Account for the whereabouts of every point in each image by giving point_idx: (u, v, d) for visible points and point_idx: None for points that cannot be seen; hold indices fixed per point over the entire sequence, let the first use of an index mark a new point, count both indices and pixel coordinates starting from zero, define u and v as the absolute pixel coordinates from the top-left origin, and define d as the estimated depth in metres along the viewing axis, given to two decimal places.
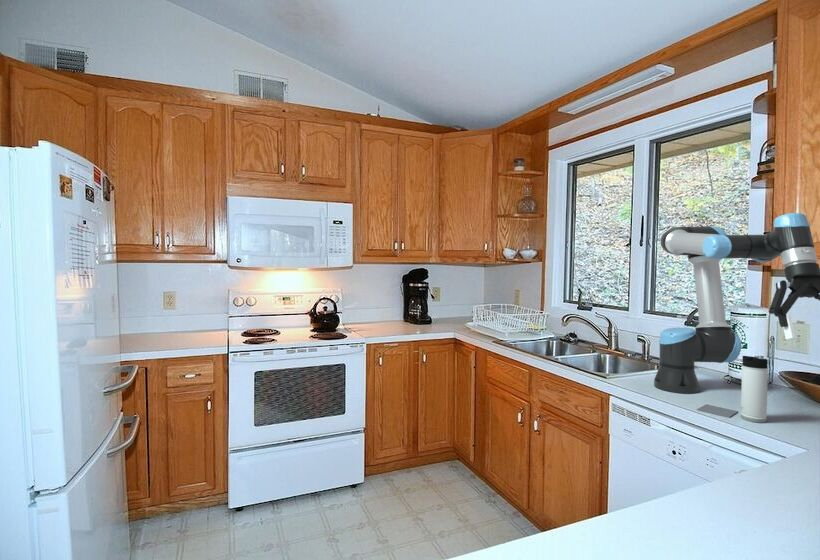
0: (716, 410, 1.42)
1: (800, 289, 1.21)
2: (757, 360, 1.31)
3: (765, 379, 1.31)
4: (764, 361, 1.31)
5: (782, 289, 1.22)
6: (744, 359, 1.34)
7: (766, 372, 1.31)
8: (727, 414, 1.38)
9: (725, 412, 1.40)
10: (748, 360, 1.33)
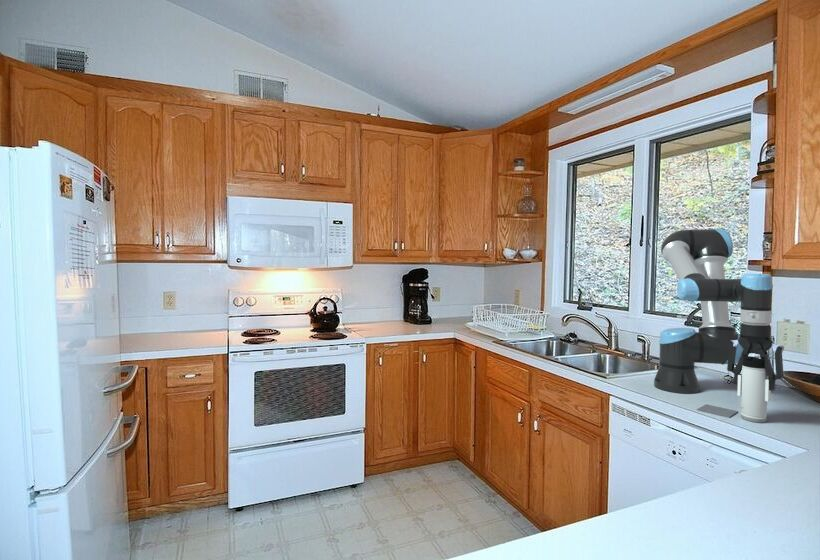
0: (716, 410, 1.42)
1: (744, 349, 1.35)
2: (757, 360, 1.31)
3: (765, 379, 1.31)
4: (764, 361, 1.31)
5: (730, 349, 1.38)
6: (744, 359, 1.34)
7: (766, 372, 1.31)
8: (727, 414, 1.38)
9: (725, 412, 1.40)
10: (748, 360, 1.33)
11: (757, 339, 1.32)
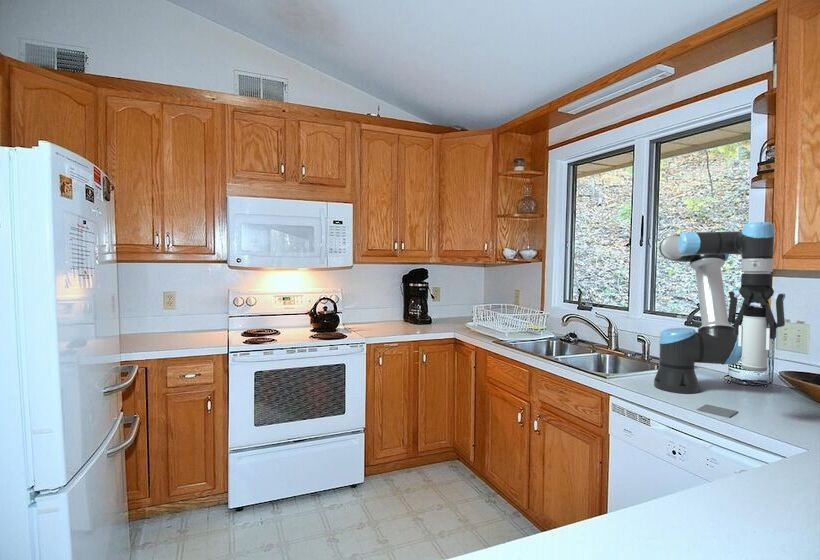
0: (716, 410, 1.42)
1: (745, 299, 1.34)
2: (758, 309, 1.31)
3: None
4: (765, 310, 1.31)
5: (731, 300, 1.38)
6: (745, 309, 1.34)
7: (767, 321, 1.31)
8: (727, 414, 1.38)
9: (725, 412, 1.40)
10: (749, 309, 1.33)
11: (758, 288, 1.32)
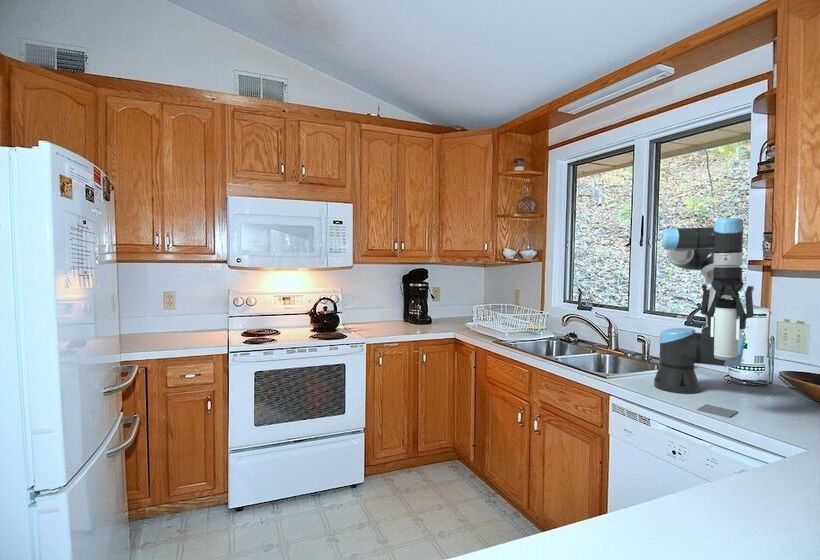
0: (716, 410, 1.42)
1: (717, 291, 1.40)
2: (729, 301, 1.37)
3: (736, 319, 1.37)
4: (735, 301, 1.37)
5: (703, 293, 1.43)
6: (717, 301, 1.40)
7: (737, 312, 1.37)
8: (727, 414, 1.38)
9: (725, 412, 1.40)
10: (720, 301, 1.39)
11: (729, 281, 1.38)
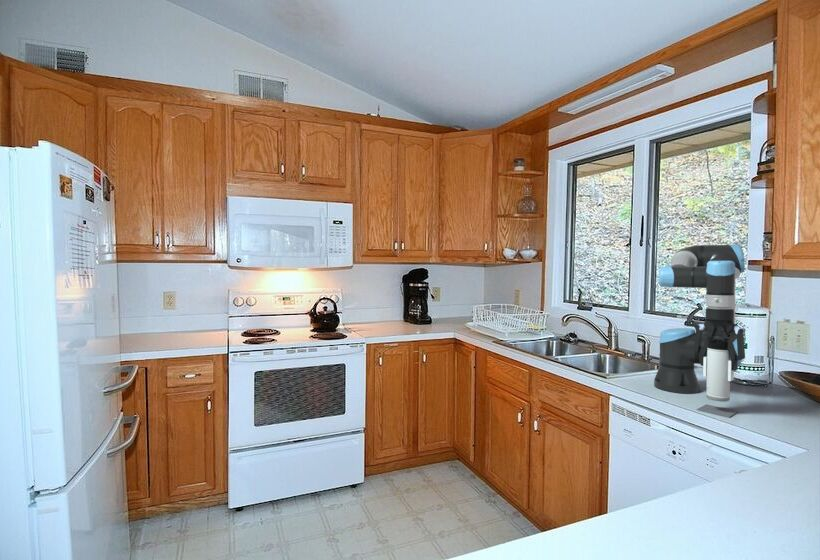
0: (716, 410, 1.42)
1: (709, 332, 1.42)
2: (720, 342, 1.39)
3: (728, 360, 1.39)
4: (727, 343, 1.38)
5: (696, 333, 1.45)
6: (709, 341, 1.42)
7: (729, 354, 1.39)
8: (727, 414, 1.38)
9: (725, 412, 1.40)
10: (712, 342, 1.41)
11: (721, 322, 1.40)
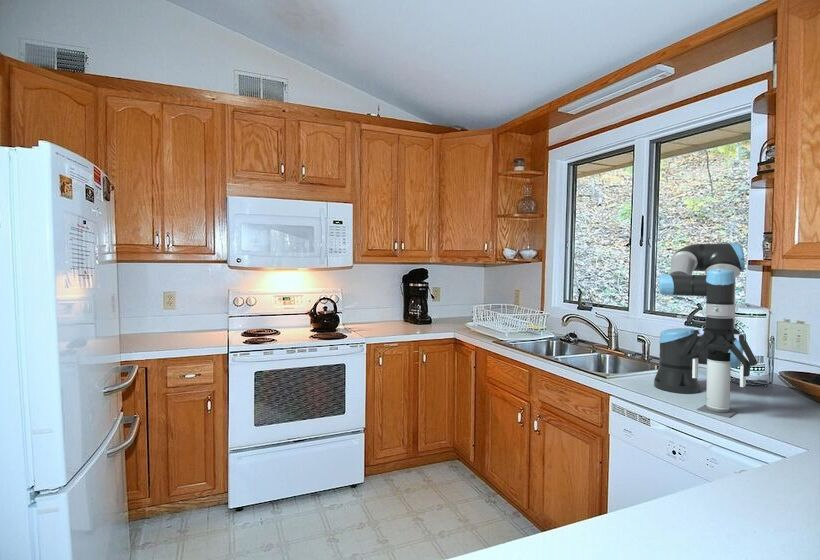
0: None
1: (707, 339, 1.43)
2: (720, 353, 1.39)
3: (728, 371, 1.39)
4: (727, 354, 1.39)
5: (693, 337, 1.46)
6: (709, 353, 1.42)
7: (729, 365, 1.39)
8: (727, 414, 1.38)
9: None
10: (712, 354, 1.41)
11: (720, 334, 1.40)
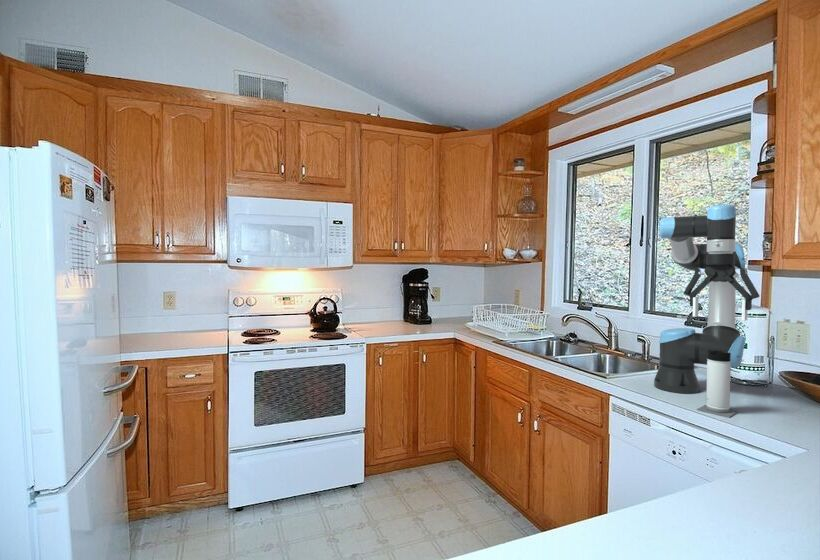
0: None
1: (708, 276, 1.42)
2: (720, 354, 1.39)
3: (728, 371, 1.39)
4: (727, 354, 1.39)
5: (694, 276, 1.46)
6: (709, 353, 1.42)
7: (729, 365, 1.39)
8: (727, 414, 1.38)
9: None
10: (712, 354, 1.41)
11: (721, 270, 1.40)
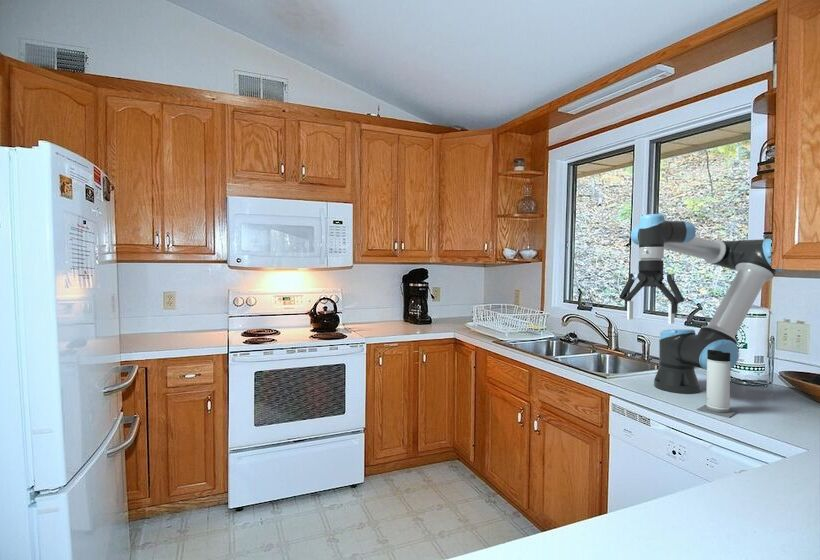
0: None
1: (640, 281, 1.50)
2: (720, 353, 1.39)
3: (728, 371, 1.39)
4: (726, 354, 1.39)
5: (628, 281, 1.54)
6: (708, 353, 1.42)
7: (729, 365, 1.39)
8: (727, 414, 1.38)
9: None
10: (712, 354, 1.41)
11: (651, 276, 1.48)
